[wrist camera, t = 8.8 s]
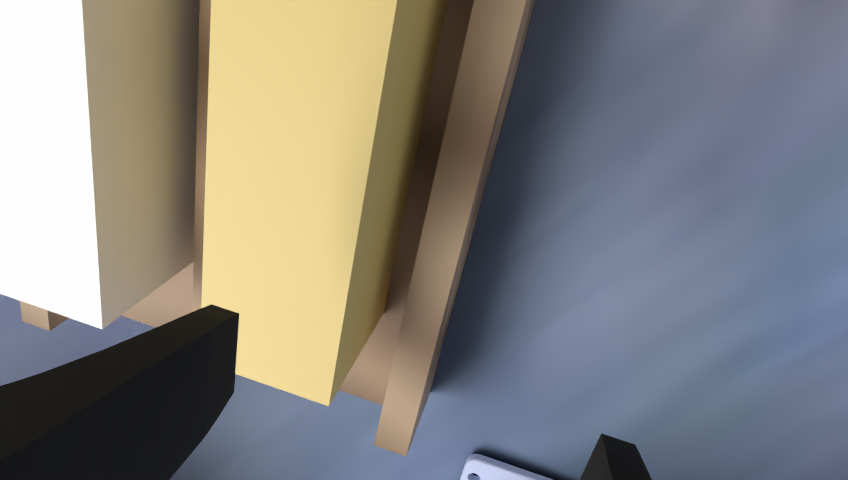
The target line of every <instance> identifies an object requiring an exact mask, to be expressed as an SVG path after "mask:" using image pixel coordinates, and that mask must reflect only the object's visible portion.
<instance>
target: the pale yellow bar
mask: <svg viewBox="0 0 848 480" xmlns="http://www.w3.org/2000/svg"><path fill="white" fill-rule="evenodd" d="M447 1H448V0H211V19H210V50H209V81H208V113H207V144H206V175H205V206H204V238H203V269H202V300H201V308H203V307H206V306H208V305H211V304H212V305H215V306H218V307H221V308H224V309H227V310H230V311H233V312H236V313H239V326H238V340H237V355H236V369H235V374H237V375H240V376H243V377H246V378H249V379H252V380H254V381H257V382H260V383H263V384H266V385H269V386H272V387H275V388H278V389H280V390H283V391H286V392H289V393H292V394H295V395H298V396H301V397H304V398H306V399H309V400H312V401H315V402H318V403H321V404H324V405H327V406H329V405H330V403H331V402H332V400H333V398H334V397H335V395H336V393H337V392H338V390H339V388H340V386H341V385H342V383H343V381H344V380H345V378H346V376H347V375H348V373H349V371H350V369H351V368H352V366H353V364H354V363H355V361H356V359H357V358H358V356H359V354H360V352H361V351H362V349H363V347H364V346H365V344H366V342H367V341H368V339H369V337H370V336H371V334H372V332H373V330H374V329H375V327H376V325H377V324H378V322H379V320H380V319H381V317H382V315H383V313H384V308H385V303H386V298H387V294H388V289H389V284H390V279H391V274H392V269H393V264H394V260H395V255H396V250H397V245H398V240H399V235H400V230H401V225H402V221H403V216H404V211H405V206H406V201H407V196H408V191H409V186H410V182H411V177H412V172H413V167H414V162H415V157H416V152H417V148H418V143H419V138H420V133H421V128H422V123H423V118H424V113H425V109H426V104H427V99H428V94H429V89H430V84H431V79H432V74H433V70H434V65H435V60H436V55H437V50H438V45H439V40H440V36H441V31H442V26H443V21H444V16H445V11H446V6H447Z"/></svg>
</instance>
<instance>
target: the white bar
mask: <svg viewBox="0 0 848 480" xmlns="http://www.w3.org/2000/svg"><path fill="white" fill-rule="evenodd" d="M199 14H200V0H0V294H2V295H5V296H8V297H11V298H14V299H17V300H20V301H22V302H25V303H28V304H31V305H34V306H37V307H40V308H43V309H46V310H48V311H51V312H54V313H57V314H60V315H63V316H66V317H69V318H71V319H74V320H77V321H80V322H83V323H86V324H89V325H92V326H94V327H97V328H100V329H103V328H105V327H106V326H107V325H109V324H110V323H111V322H113V321H114V320H115V319H117V318H118V317H120V316H121V315H122V314H124V313H125V312H126V311H128V310H129V309H130V308H132V307H133V306H134V305H136V304H137V303H138V302H140V301H141V300H142V299H144V298H145V297H146V296H148V295H149V294H151V293H152V292H153V291H155V290H156V289H157V288H159V287H160V286H161V285H163V284H164V283H165V282H167V281H168V280H169V279H171V278H172V277H173V276H175V275H176V274H177V273H179V272H180V271H182V270H183V269H184V268H186V267H187V266H188V265H190V264H191V263H192V262H194V222H195V181H196V139H197V97H198V55H199Z"/></svg>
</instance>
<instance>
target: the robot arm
mask: <svg viewBox="0 0 848 480" xmlns="http://www.w3.org/2000/svg"><path fill="white" fill-rule="evenodd" d="M238 326H239V313H236V312H233V311H230V310H227V309H224V308H221V307H218V306H215V305H212V304H211V305H208V306H206V307H203V308H201V309H198V310H196V311H193V312H191V313H189V314H186V315H184V316H182V317H179V318H177V319H175V320H173V321H170V322H168V323H166V324H163V325H161V326H159V327H157V328H154V329H152V330H150V331H147V332H145V333H142V334H140V335H138V336H135V337H133V338H131V339H128V340H126V341H123V342H121V343H119V344H116V345H114V346H112V347H109V348H107V349H104V350H102V351H99V352H96V353H94V354H91V355H88V356H86V357H83V358H80V359H78V360H75V361H72V362H70V363H67V364H64V365H62V366H59V367H56V368H54V369H51V370H49V371H46V372H43V373H40V374H37V375H34V376H31V377H28V378H25V379H22V380H19V381H16V382H12V383H9V384H6V385H2V386H0V480H169V479H170V478H171V477H172V476H173V474H174V473H175V472H176V471H177V470H178V468H179V467H180V466H181V465H182V464H183V462H184V461H185V460H186V459H187V458H188V456H189V455H190V454H191V453H192V452H193V450H194V449H195V448H196V447H197V446H198V444H199V443H200V442H201V441H202V440H203V438H204V437H205V436H206V434H207V433H208V431H209V430H210V429H211V427H212V426H213V424H214V423H215V421H216V420H217V418H218V417H219V415H220V413H221V412H222V410H223V409H224V407H225V405H226V404H227V402H228V401H229V399H230V398H231V396H232V394H233V393H234V384H235V369H236V355H237V340H238ZM471 473H475V474H477V475H478V476H476V475H473V474H471ZM460 480H553V479H550V478H547V477H544V476H541V475H538V474H535V473H533V472H530V471H527V470H524V469H521V468H518V467H515V466H512V465H509V464H506V463H504V462H501V461H498V460H495V459H492V458H489V457H486V456H483V455H480V454H472V455H470V456H468V458H467V460H466V463H465V466H464V469H463V472H462V475H461V478H460ZM580 480H652V479H651V477H650V475H649V473H648V471H647V468H646V466H645V464H644V462H643V460H642V458H641V455H640V453H639V451H638V449H637V447H636V446H635V445H634V444H631V443H628V442H625V441H622V440H619V439H616V438H613V437H610V436H607V435H604V434H601V436H600V438H599V440H598V442H597V444H596V446H595V448H594V451H593V453H592V455H591V457H590V459H589V461H588V463H587V466H586V468H585V470H584V472H583V474H582V476H581V478H580Z"/></svg>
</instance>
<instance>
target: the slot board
mask: <svg viewBox="0 0 848 480" xmlns="http://www.w3.org/2000/svg"><path fill="white" fill-rule="evenodd" d="M535 1H536V0H448V1H447V6H446V11H445V16H444V21H443V26H442V31H441V36H440V40H439V45H438V50H437V55H436V60H435V65H434V70H433V74H432V79H431V84H430V89H429V94H428V99H427V104H426V109H425V113H424V118H423V123H422V128H421V133H420V138H419V143H418V148H417V152H416V157H415V162H414V167H413V172H412V177H411V182H410V186H409V191H408V196H407V201H406V206H405V211H404V216H403V221H402V225H401V230H400V235H399V240H398V245H397V250H396V255H395V260H394V264H393V269H392V274H391V279H390V284H389V289H388V294H387V298H386V303H385V308H384V313H383V315H382V317H381V319H380V320H379V322H378V324H377V325H376V327H375V329H374V330H373V332H372V334H371V336H370V337H369V339H368V341H367V342H366V344H365V346H364V347H363V349H362V351H361V352H360V354H359V356H358V358H357V359H356V361H355V363H354V364H353V366H352V368H351V369H350V371H349V373H348V375H347V376H346V378H345V380H344V381H343V383H342V385H341V386H340V388H339V390H340V391H343V392H346V393H349V394H352V395H355V396H358V397H360V398H363V399H366V400H369V401H372V402H375V403H378V404H381V405H383V408H382V412H381V416H380V421H379V425H378V430H377V434H376V439H375V443H374V445H375V446H378V447H381V448H384V449H387V450H389V451H392V452H395V453H398V454H401V455H404V456H407V453H408V450H409V448H410V445H411V442H412V440H413V437H414V434H415V431H416V429H417V426H418V423H419V421H420V418H421V415H422V412H423V410H424V407H425V404H426V402H427V399H428V396H429V393H430V390H431V386H432V383H433V379H434V375H435V371H436V368H437V364H438V360H439V357H440V353H441V349H442V346H443V342H444V338H445V334H446V331H447V327H448V323H449V320H450V316H451V312H452V309H453V305H454V301H455V297H456V294H457V290H458V286H459V283H460V279H461V275H462V271H463V268H464V264H465V260H466V257H467V253H468V249H469V246H470V242H471V238H472V234H473V231H474V227H475V223H476V220H477V216H478V212H479V209H480V205H481V201H482V197H483V194H484V190H485V186H486V183H487V179H488V175H489V172H490V168H491V164H492V160H493V157H494V153H495V149H496V146H497V142H498V138H499V134H500V131H501V127H502V123H503V120H504V116H505V112H506V109H507V105H508V101H509V97H510V94H511V90H512V86H513V83H514V79H515V75H516V72H517V68H518V64H519V60H520V57H521V53H522V49H523V46H524V42H525V38H526V34H527V31H528V27H529V23H530V20H531V16H532V12H533V9H534V5H535ZM210 19H211V0H200V14H199V55H198V97H197V139H196V181H195V222H194V262H192V263H191V264H190V265H188V266H187V267H186V268H184V269H183V270H182V271H180V272H179V273H177V274H176V275H175V276H173V277H172V278H171V279H169V280H168V281H167V282H165V283H164V284H163V285H161V286H160V287H159V288H157V289H156V290H155V291H153V292H152V293H151V294H149V295H148V296H146V297H145V298H144V299H142V300H141V301H140V302H138V303H137V304H136V305H134V306H133V307H132V308H130V309H129V310H128V311H126V312H125V313H124V314H122V315H121V316H124V317H127V318H130V319H132V320H135V321H138V322H141V323H144V324H147V325H150V326H153V327H156V328H157V327H159V326H161V325H163V324H166V323H168V322H170V321H173V320H175V319H177V318H179V317H182V316H184V315H186V314H189V313H191V312H193V311H196V310H198V309H201V300H202V269H203V238H204V206H205V175H206V144H207V113H208V81H209V50H210ZM20 306H21V313H22V320H23V322H26V323H29V324H32V325H35V326H37V327H40V328H43V329H46V330H49V331H50V330H52V329H53V328H55V327H56V326H58V325H59V324H61V323H62V322H64V321H65V320H67V319H68V318H69V317H66V316H63V315H60V314H57V313H54V312H51V311H48V310H46V309H43V308H40V307H37V306H34V305H31V304H28V303H25V302H22V301H20Z"/></svg>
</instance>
